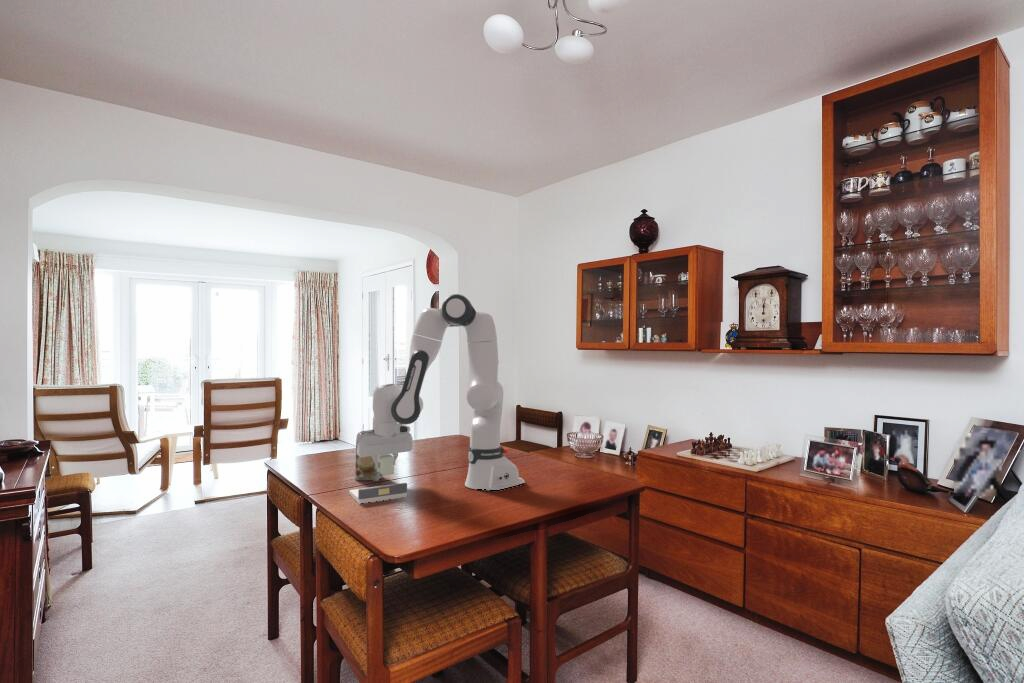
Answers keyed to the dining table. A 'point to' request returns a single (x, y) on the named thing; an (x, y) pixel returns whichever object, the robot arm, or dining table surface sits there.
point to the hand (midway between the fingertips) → (385, 466)
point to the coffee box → (366, 468)
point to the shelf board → (379, 493)
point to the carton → (386, 464)
